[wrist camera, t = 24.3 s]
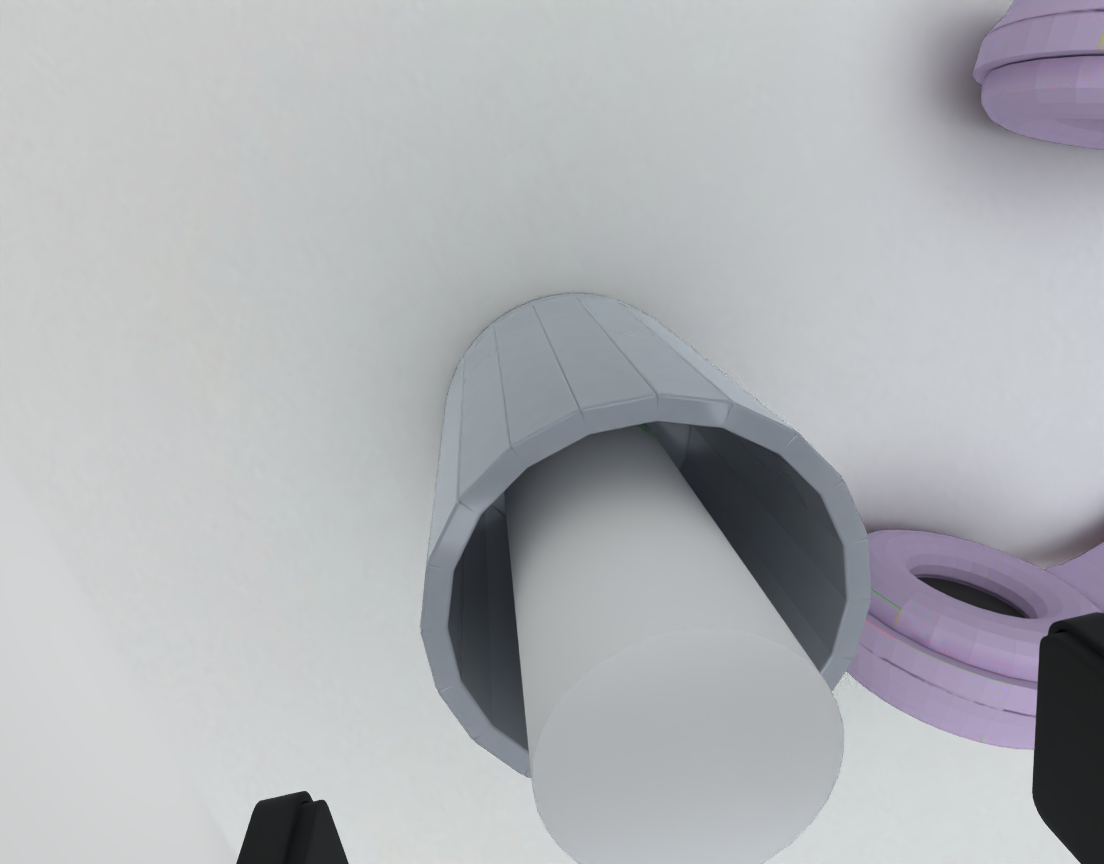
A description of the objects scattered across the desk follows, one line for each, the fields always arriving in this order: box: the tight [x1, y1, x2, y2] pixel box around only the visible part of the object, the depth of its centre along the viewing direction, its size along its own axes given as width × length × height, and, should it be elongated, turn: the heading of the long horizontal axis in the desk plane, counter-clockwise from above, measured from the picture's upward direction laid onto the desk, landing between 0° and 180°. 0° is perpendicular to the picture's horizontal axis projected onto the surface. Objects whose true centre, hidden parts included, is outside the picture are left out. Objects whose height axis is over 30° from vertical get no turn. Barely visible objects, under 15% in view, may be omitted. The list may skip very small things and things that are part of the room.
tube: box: [504, 423, 844, 864], centre depth 18 cm, size 4×4×15 cm
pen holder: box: [420, 293, 871, 778], centre depth 20 cm, size 8×8×12 cm
